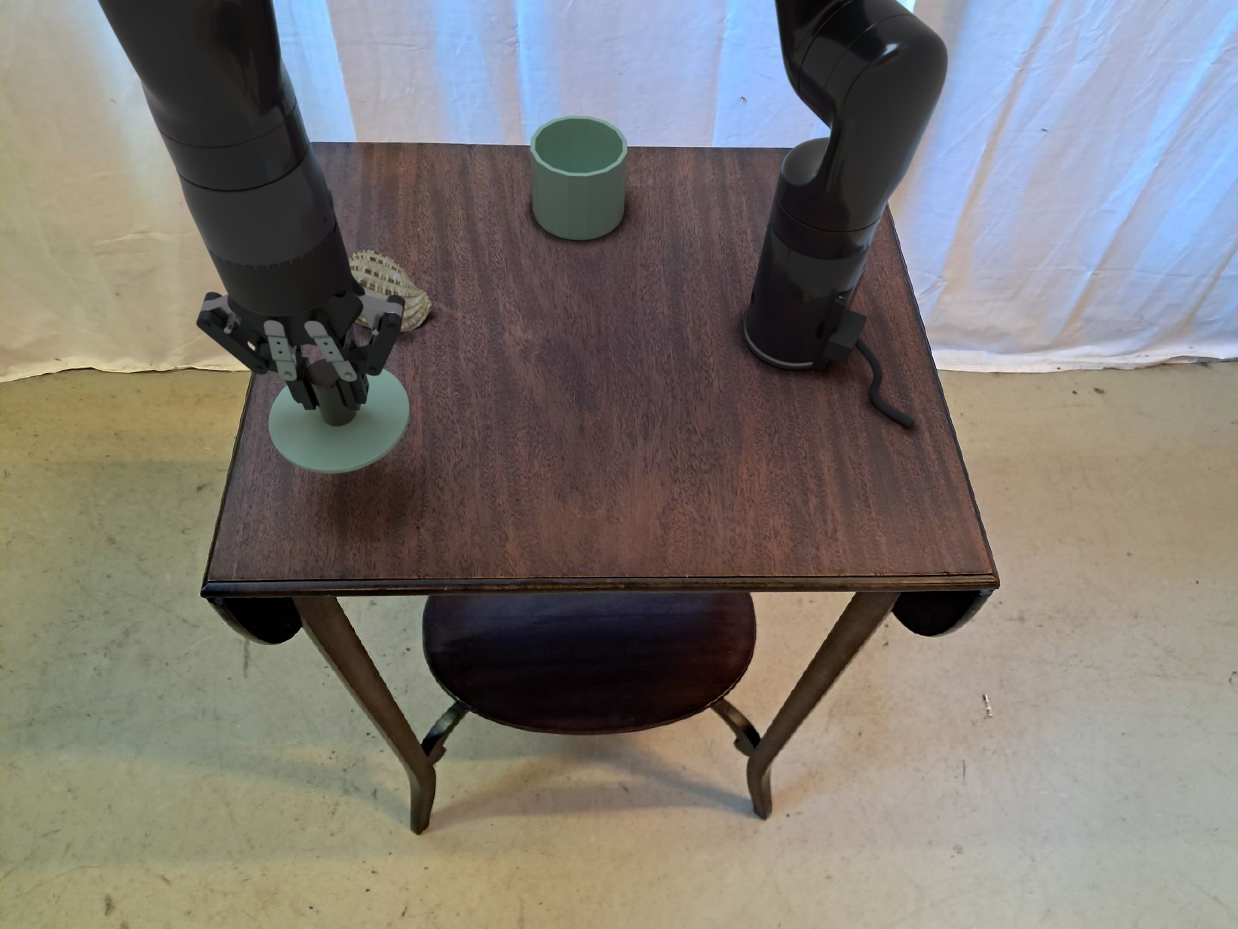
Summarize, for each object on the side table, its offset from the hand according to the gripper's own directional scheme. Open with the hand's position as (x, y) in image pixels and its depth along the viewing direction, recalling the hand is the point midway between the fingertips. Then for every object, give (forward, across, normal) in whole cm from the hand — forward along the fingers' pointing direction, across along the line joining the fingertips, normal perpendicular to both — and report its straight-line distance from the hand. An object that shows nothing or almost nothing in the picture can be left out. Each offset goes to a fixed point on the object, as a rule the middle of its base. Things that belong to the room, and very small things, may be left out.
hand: (335, 400), depth 65 cm
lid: (+2, 0, 0) cm, 2 cm away
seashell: (+13, -1, +22) cm, 26 cm away
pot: (+13, +18, +38) cm, 44 cm away
